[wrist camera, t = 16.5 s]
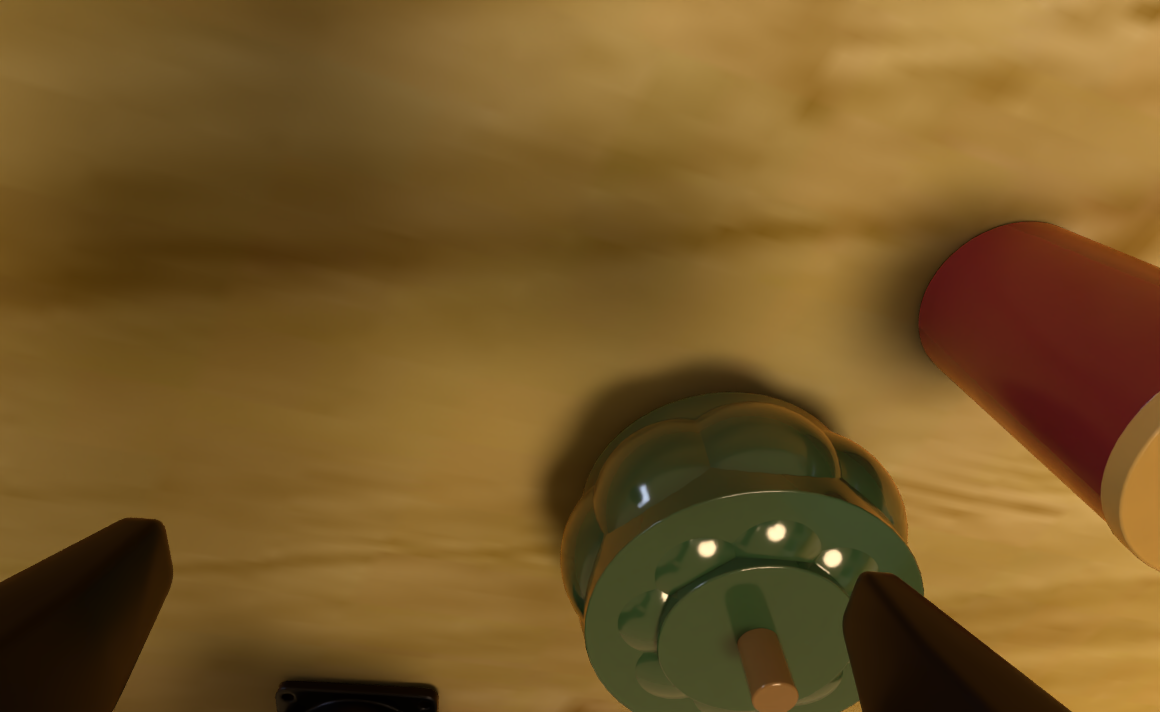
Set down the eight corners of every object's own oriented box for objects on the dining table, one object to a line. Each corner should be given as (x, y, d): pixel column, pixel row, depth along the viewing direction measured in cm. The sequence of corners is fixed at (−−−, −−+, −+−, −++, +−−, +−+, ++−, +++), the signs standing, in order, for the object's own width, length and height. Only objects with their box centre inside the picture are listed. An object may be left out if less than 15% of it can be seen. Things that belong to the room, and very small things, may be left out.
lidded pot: (547, 603, 27) (540, 821, 19) (577, 348, 22) (584, 510, 15) (821, 621, 27) (914, 838, 20) (908, 378, 23) (1072, 547, 15)
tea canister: (876, 331, 22) (1061, 512, 14) (1010, 181, 20) (1317, 288, 12) (998, 411, 23) (1231, 617, 15) (1134, 278, 21) (1486, 434, 13)
